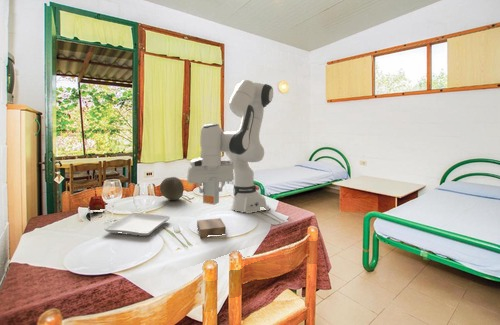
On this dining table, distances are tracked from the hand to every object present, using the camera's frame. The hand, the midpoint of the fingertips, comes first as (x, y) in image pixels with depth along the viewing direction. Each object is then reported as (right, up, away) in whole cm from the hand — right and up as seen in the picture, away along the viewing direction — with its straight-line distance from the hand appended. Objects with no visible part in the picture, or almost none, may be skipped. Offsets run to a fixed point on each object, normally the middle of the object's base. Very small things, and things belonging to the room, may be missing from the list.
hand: (210, 191), depth 114 cm
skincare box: (0, -5, +1) cm, 5 cm away
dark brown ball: (-32, -11, +50) cm, 61 cm away
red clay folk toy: (-66, -14, +26) cm, 73 cm away
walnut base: (0, -19, +3) cm, 19 cm away
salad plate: (-34, -18, +6) cm, 39 cm away
